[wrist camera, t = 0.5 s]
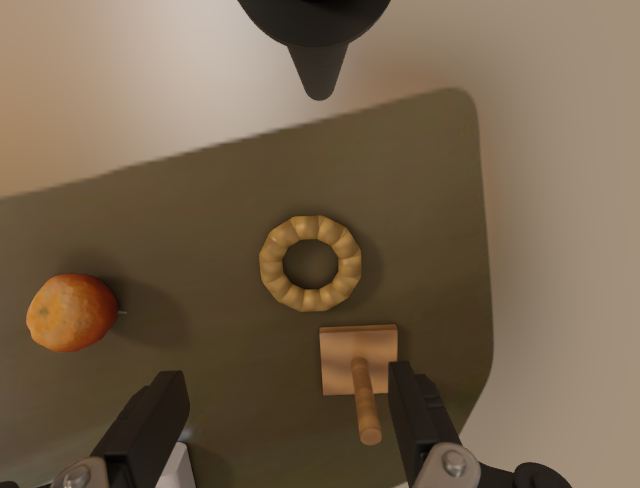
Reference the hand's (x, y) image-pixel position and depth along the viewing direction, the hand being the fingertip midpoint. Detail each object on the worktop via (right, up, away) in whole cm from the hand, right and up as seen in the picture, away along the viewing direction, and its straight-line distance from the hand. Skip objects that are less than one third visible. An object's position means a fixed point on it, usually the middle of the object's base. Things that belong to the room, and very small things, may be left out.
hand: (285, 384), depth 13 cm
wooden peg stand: (+6, -8, +28) cm, 30 cm away
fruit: (-25, 0, +25) cm, 35 cm away
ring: (0, +3, +23) cm, 23 cm away
